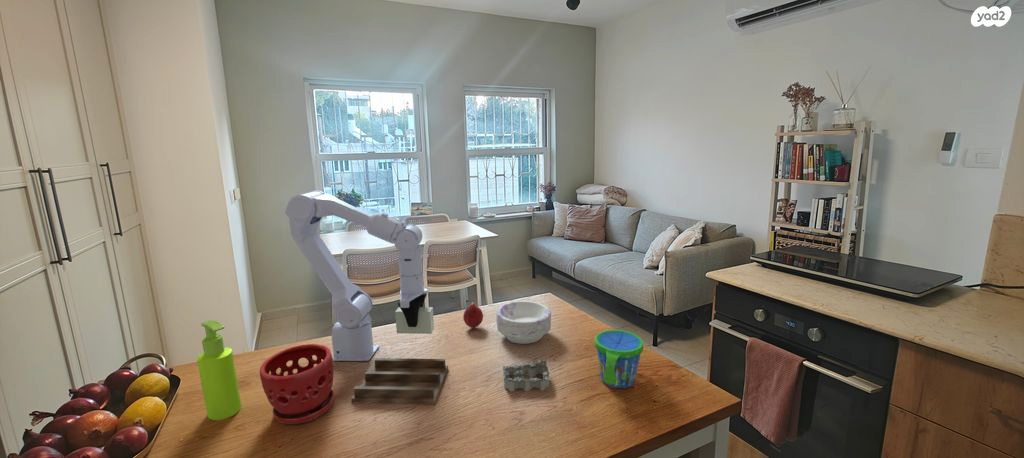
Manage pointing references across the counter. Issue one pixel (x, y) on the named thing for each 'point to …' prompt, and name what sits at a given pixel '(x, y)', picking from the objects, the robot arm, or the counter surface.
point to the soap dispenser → (218, 374)
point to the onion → (473, 316)
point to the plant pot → (299, 383)
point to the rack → (402, 381)
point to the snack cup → (618, 357)
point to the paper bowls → (523, 321)
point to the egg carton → (530, 370)
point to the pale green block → (423, 325)
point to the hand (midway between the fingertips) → (414, 323)
